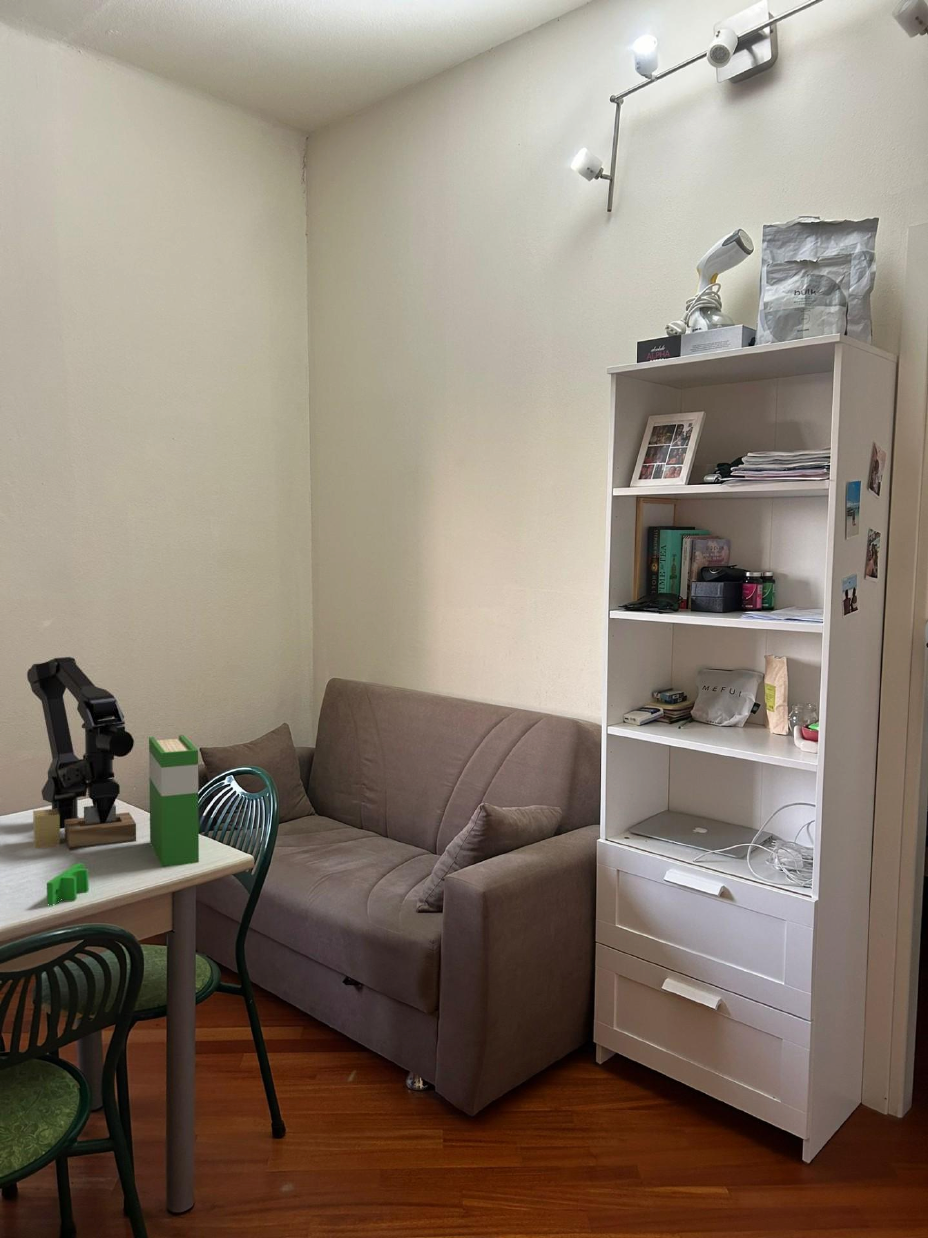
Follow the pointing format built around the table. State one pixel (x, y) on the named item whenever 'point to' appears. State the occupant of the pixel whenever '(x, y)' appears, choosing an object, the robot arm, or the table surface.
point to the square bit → (46, 828)
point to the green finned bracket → (68, 884)
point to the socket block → (100, 832)
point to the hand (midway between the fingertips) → (100, 817)
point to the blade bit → (93, 818)
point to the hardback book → (174, 801)
